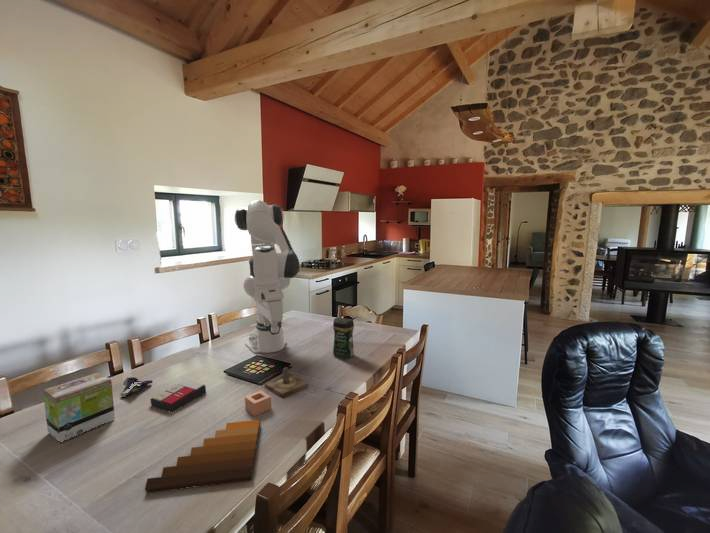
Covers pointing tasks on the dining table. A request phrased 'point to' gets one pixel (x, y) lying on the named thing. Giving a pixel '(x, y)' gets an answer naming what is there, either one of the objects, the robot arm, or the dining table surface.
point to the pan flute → (214, 460)
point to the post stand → (286, 384)
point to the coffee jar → (343, 338)
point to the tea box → (78, 405)
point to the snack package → (135, 388)
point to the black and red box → (178, 395)
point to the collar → (258, 402)
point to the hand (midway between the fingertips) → (270, 329)
